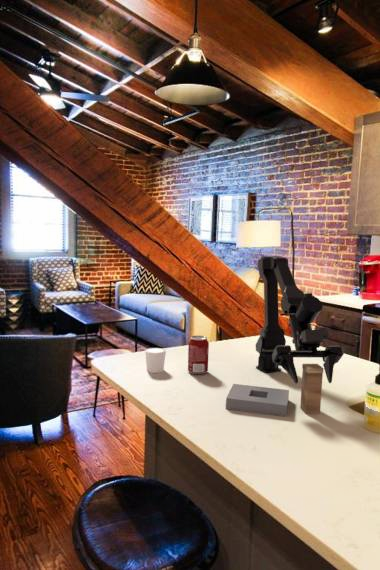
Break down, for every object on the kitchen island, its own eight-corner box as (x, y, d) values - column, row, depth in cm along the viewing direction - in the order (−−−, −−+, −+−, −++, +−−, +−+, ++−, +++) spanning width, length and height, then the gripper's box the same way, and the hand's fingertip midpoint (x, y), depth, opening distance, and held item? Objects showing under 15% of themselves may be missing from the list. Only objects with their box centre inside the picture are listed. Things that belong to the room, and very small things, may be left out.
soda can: (205, 376, 149) (207, 340, 148) (185, 374, 151) (186, 339, 149) (209, 370, 156) (210, 335, 154) (189, 368, 157) (190, 334, 156)
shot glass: (168, 368, 156) (168, 348, 155) (160, 374, 150) (161, 353, 149) (150, 366, 158) (150, 346, 157) (141, 371, 152) (142, 351, 151)
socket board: (233, 393, 134) (233, 383, 134) (288, 400, 130) (288, 390, 130) (225, 408, 123) (226, 398, 122) (286, 416, 119) (286, 405, 118)
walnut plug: (299, 407, 125) (302, 363, 123) (314, 407, 125) (317, 363, 124) (305, 414, 121) (308, 368, 119) (320, 413, 121) (323, 368, 120)
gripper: (277, 316, 123) (287, 368, 113) (343, 317, 125) (359, 368, 115) (267, 337, 132) (276, 387, 122) (330, 338, 133) (343, 387, 124)
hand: (313, 382), depth 121 cm, fingers open, 9 cm apart
